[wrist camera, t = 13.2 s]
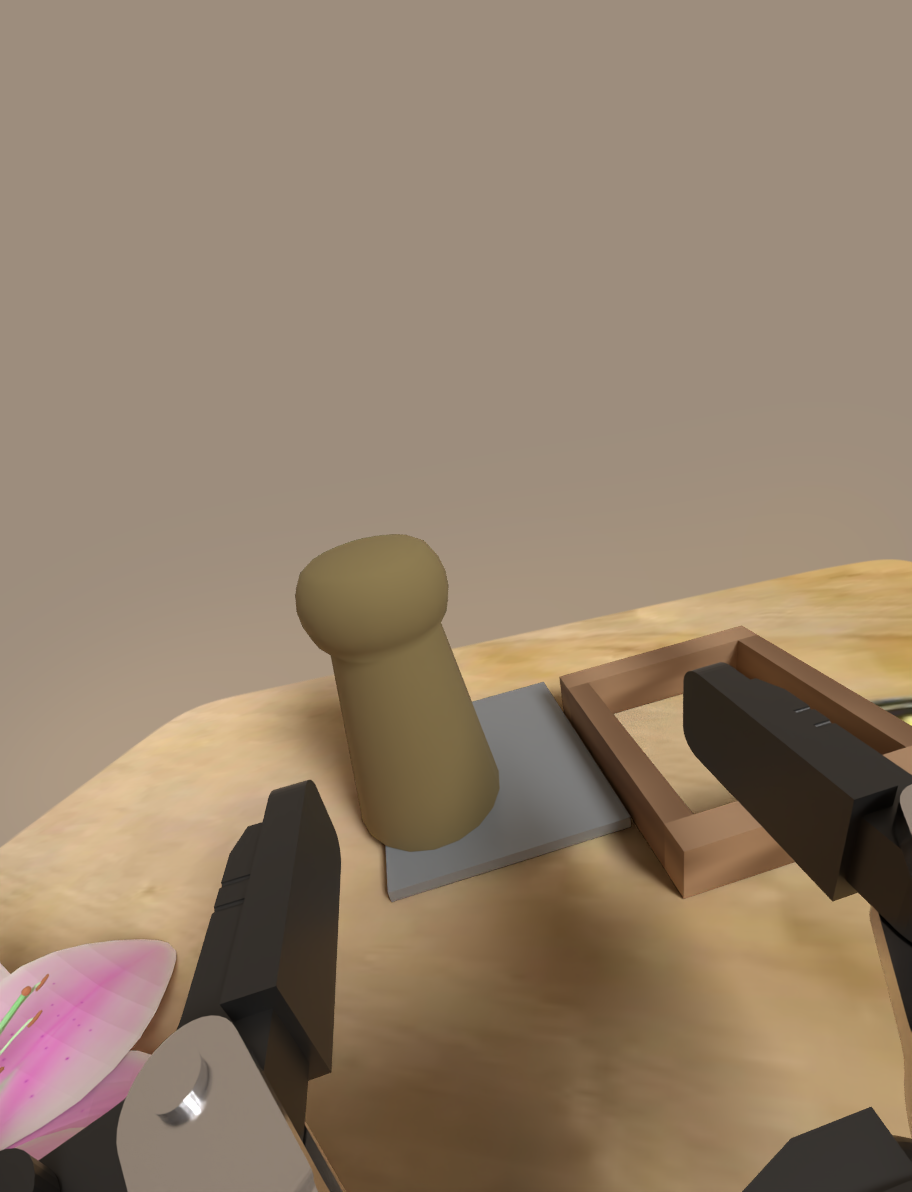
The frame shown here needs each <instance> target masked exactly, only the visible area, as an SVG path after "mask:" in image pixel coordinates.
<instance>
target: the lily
mask: <svg viewBox="0 0 912 1192" xmlns="http://www.w3.org/2000/svg"><path fill="white" fill-rule="evenodd" d="M175 961H176V950H175V949H174V948H173V947H172V946H171V945H170V944H169V943H167V942H164V941H160V940H148V939H132V940H113V941H106V942H98V943H90V944H84V945H80V946H75V947H71V948H67V949H63V950H59V951H55V952H52V953H50V954H48V955H45V956H43V957H41V958H39V959H36V960H34V961H32V962H30V963H27V964H25V965H23V966H21V967H19V968H18V969H17V970H15V971H14V972H13V973H11V974H10V973H9V972H8V971H7V970H6V969H5V968H4V966H3V965H2V964H1V963H0V1151H1V1150H4V1149H10V1148H18V1149H21V1150H24V1151H25V1152H27V1153H28V1154H30V1155H31V1156H32V1157H34V1158H35V1159H37V1160H40V1159H41V1158H43V1157H44V1156H46V1155H47V1154H48V1153H50V1152H51V1151H53V1150H54V1149H55V1148H57V1147H58V1146H60V1145H61V1144H63V1143H64V1142H65V1141H67V1140H68V1139H70V1138H71V1137H73V1136H74V1135H75V1134H77V1133H78V1132H80V1131H81V1130H82V1129H84V1128H85V1127H87V1126H88V1125H90V1124H91V1123H92V1122H94V1121H95V1120H97V1119H98V1118H100V1117H101V1116H102V1115H104V1114H105V1113H107V1112H108V1111H109V1110H111V1109H112V1108H113V1107H115V1106H116V1105H117V1104H119V1103H120V1102H121V1101H122V1100H124V1099H125V1098H126V1097H127V1094H128V1092H129V1090H130V1088H131V1086H132V1084H133V1082H134V1080H135V1078H136V1077H137V1075H138V1073H139V1072H140V1070H141V1069H142V1067H143V1066H144V1064H145V1063H146V1062H147V1060H148V1059H149V1058H150V1056H151V1055H150V1054H147V1053H144V1052H141V1051H131V1050H130V1049H131V1048H132V1047H133V1046H134V1044H135V1043H136V1042H137V1041H138V1040H139V1038H140V1037H141V1036H142V1034H143V1032H144V1031H145V1029H146V1027H147V1026H148V1024H149V1022H150V1021H151V1019H152V1017H153V1016H154V1014H155V1012H156V1011H157V1008H158V1006H159V1004H160V1002H161V999H162V997H163V995H164V993H165V990H166V988H167V985H168V983H169V980H170V978H171V975H172V972H173V969H174V965H175Z"/></svg>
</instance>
